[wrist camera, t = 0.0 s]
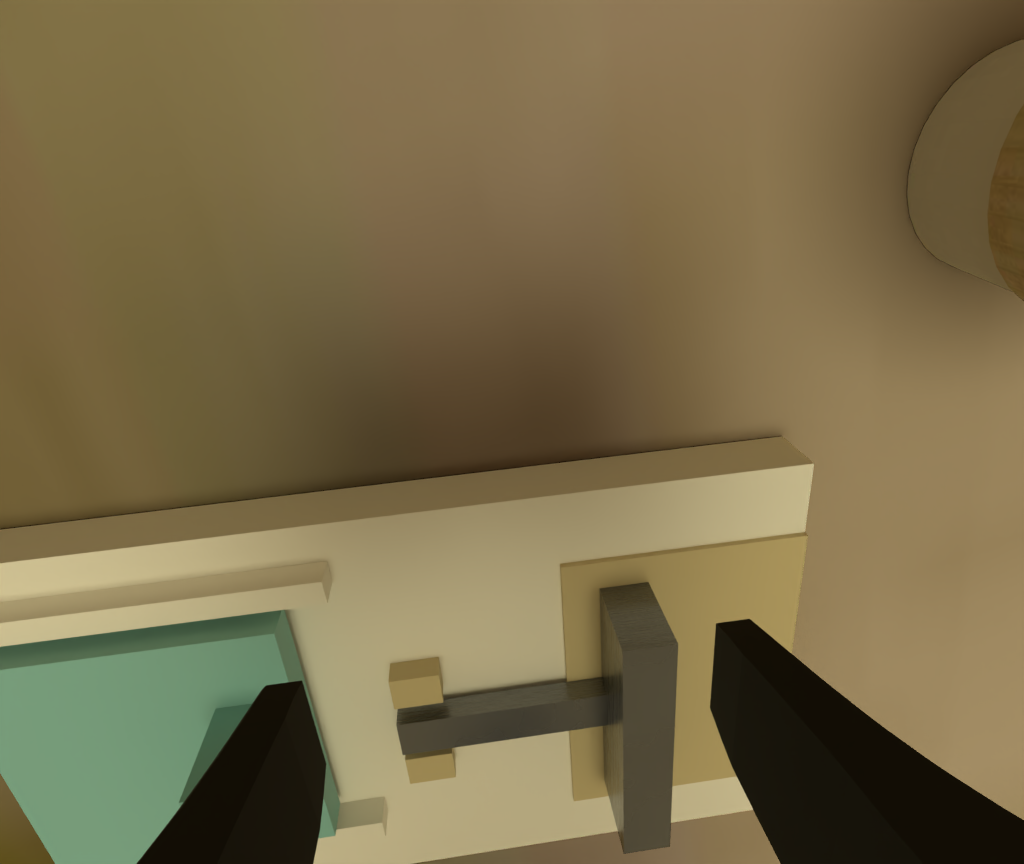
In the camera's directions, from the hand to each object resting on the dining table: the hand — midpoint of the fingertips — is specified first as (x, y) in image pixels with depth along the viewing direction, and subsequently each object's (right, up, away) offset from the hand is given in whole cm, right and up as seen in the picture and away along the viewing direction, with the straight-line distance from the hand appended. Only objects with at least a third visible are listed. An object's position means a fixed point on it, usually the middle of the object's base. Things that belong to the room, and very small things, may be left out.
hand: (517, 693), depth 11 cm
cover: (-11, -5, +10) cm, 16 cm away
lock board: (-3, -4, +13) cm, 14 cm away
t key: (0, -5, +11) cm, 12 cm away
